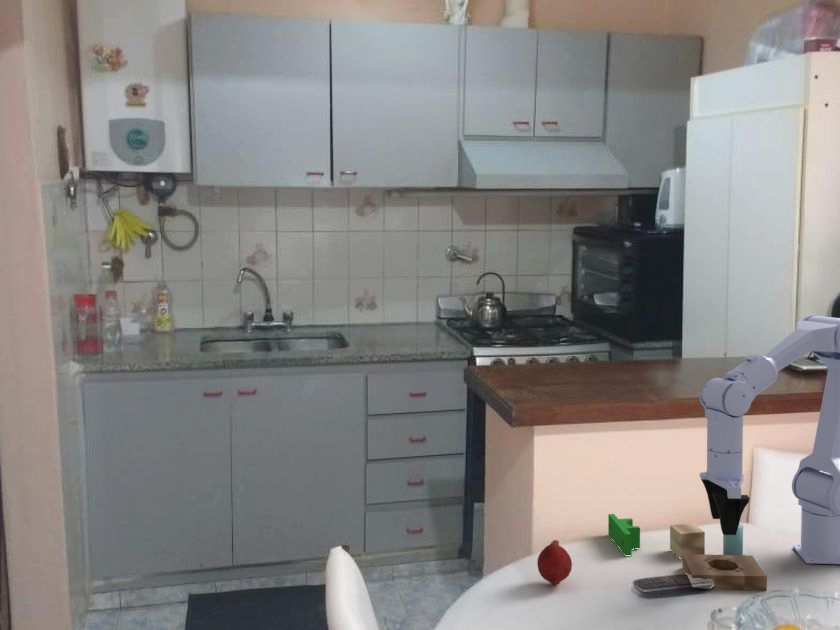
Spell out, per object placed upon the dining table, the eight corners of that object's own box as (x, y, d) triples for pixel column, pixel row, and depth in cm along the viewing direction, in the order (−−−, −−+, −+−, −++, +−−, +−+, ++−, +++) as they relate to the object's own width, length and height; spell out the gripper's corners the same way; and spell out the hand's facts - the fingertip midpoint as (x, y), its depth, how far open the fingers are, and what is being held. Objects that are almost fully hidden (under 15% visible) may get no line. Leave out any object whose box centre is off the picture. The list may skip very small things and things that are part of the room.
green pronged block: (645, 557, 159) (645, 533, 159) (625, 558, 159) (625, 534, 158) (626, 534, 170) (626, 512, 170) (608, 535, 170) (608, 513, 169)
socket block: (752, 569, 152) (752, 555, 152) (766, 590, 143) (766, 576, 143) (682, 567, 153) (682, 554, 153) (692, 589, 144) (692, 574, 144)
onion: (550, 594, 144) (550, 548, 143) (531, 582, 149) (530, 538, 148) (578, 587, 146) (578, 542, 145) (558, 575, 151) (557, 531, 151)
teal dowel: (740, 553, 159) (740, 522, 158) (744, 560, 156) (745, 528, 155) (721, 553, 159) (721, 522, 159) (725, 560, 156) (725, 528, 155)
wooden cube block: (693, 548, 162) (693, 523, 161) (704, 558, 157) (704, 531, 157) (670, 550, 161) (670, 525, 161) (680, 560, 157) (681, 533, 156)
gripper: (692, 438, 153) (691, 511, 155) (709, 460, 139) (709, 541, 140) (732, 438, 152) (731, 512, 154) (754, 460, 138) (753, 542, 140)
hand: (723, 526), depth 147 cm, fingers open, 7 cm apart
